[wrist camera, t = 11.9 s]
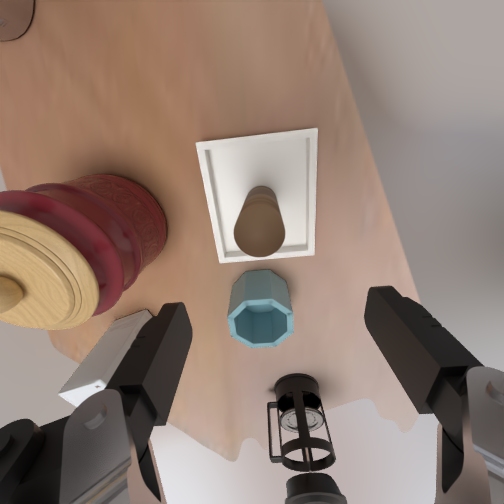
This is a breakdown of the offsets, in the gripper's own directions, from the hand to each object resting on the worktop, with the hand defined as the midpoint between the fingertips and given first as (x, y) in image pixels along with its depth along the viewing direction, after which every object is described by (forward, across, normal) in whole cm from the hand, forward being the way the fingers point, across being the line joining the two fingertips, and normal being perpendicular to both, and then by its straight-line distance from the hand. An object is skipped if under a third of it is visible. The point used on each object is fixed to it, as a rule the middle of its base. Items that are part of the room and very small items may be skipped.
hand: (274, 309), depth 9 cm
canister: (+21, +19, +1) cm, 29 cm away
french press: (+21, -4, +41) cm, 46 cm away
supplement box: (+21, +24, +21) cm, 38 cm away
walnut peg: (+20, 0, 0) cm, 20 cm away
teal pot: (+21, +2, +15) cm, 26 cm away
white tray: (+21, 0, 0) cm, 21 cm away
